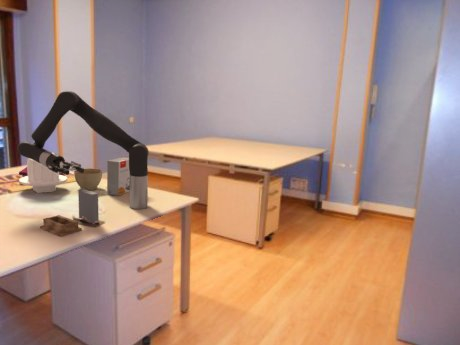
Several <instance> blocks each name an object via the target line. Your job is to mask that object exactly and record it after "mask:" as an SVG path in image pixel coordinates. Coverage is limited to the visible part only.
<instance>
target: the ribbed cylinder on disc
mask: <svg viewBox="0 0 460 345" xmlns="http://www.w3.org/2000/svg"><path fill="white" fill-rule="evenodd" d="M26 167H27V173H28V176H25V177H21V178H19V181H18V182H19V184H20V185H24V186H29V187H32V190H33V191H34V192H36V193H37V194H42V193H43V192H44V193H52V192H56V188H57V187H56V186H57V185H62V184H65V183H67V181H68V177H67V175H63V174H62V175H59V172H58V173H55V172H53V171H52V170H50V169H48V167H46V166H44V165H42V164H41V163H38V162H37V161H35V160H33V159H30V158H27V159H26Z"/></svg>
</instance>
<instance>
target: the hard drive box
mask: <svg viewBox="0 0 460 345" xmlns="http://www.w3.org/2000/svg"><path fill="white" fill-rule="evenodd" d="M106 165H107V166H106V169H107V172H106V173H107V177H106V178H107V182H106V183H107V184H106V188H107V189H106V194H107V195H111V196H116V197H118V196H122V195H123V194H126V193H130V171H129V157H123V156H122V157H118V158H114V159H109V160H107V164H106Z"/></svg>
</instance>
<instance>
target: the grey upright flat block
mask: <svg viewBox="0 0 460 345" xmlns="http://www.w3.org/2000/svg"><path fill="white" fill-rule="evenodd" d="M77 194H78V219H79V218H82V216H84V217H86V218H87V219H88V220H90V221H91V222H92V223H94V222H95V221H99V193H98V192H95V191H92V190H82V189H80V190H78V191H77Z"/></svg>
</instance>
